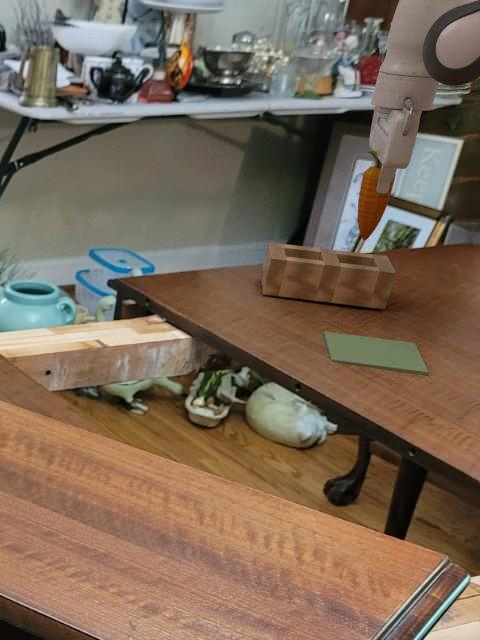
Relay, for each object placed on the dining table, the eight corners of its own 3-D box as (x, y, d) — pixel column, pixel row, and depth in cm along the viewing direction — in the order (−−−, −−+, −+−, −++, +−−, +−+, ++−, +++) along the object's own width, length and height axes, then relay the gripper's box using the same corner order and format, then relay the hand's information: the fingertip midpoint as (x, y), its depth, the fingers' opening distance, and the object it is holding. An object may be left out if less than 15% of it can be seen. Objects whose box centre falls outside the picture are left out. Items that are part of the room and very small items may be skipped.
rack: (376, 291, 189) (387, 255, 186) (384, 309, 180) (396, 272, 177) (260, 277, 193) (268, 242, 189) (262, 294, 184) (271, 258, 180)
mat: (413, 348, 164) (415, 342, 164) (427, 377, 153) (429, 372, 153) (322, 336, 166) (324, 331, 166) (330, 364, 156) (331, 359, 155)
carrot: (369, 245, 177) (392, 146, 170) (342, 239, 181) (363, 142, 173) (386, 241, 180) (410, 143, 172) (359, 235, 183) (381, 138, 175)
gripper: (437, 105, 160) (408, 203, 167) (416, 88, 176) (391, 178, 184) (391, 101, 161) (365, 199, 168) (374, 85, 178) (351, 175, 185)
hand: (378, 188), depth 176 cm, fingers closed on carrot, 5 cm apart
